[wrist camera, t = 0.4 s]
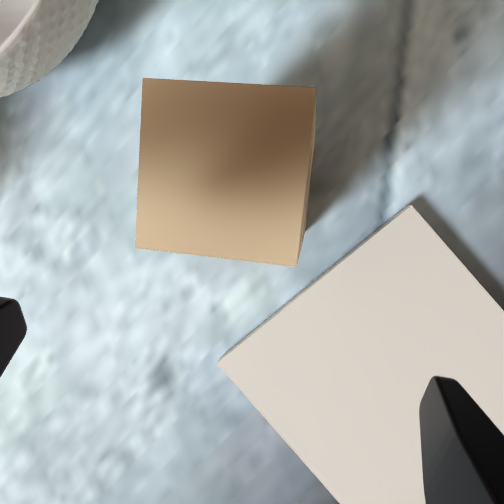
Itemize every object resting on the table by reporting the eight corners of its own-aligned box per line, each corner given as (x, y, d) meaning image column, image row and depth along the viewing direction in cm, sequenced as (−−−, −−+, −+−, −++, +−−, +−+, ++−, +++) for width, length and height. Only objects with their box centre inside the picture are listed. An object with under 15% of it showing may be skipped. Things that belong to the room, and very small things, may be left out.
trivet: (370, 529, 24) (372, 540, 23) (220, 357, 24) (216, 363, 23) (578, 400, 21) (588, 408, 20) (408, 204, 21) (411, 205, 20)
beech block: (304, 232, 22) (296, 267, 12) (218, 223, 23) (135, 248, 12) (315, 141, 21) (316, 87, 11) (225, 134, 22) (143, 77, 11)
